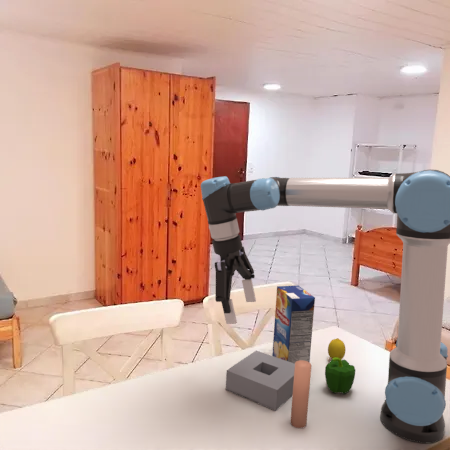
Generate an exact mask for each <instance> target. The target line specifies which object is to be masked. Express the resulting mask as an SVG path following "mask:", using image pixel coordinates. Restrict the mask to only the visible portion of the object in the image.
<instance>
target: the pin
mask: <svg viewBox="0 0 450 450" xmlns="http://www.w3.org/2000/svg"><path fill="white" fill-rule="evenodd" d="M311 376H312V363H311V362H308V361H304V360H299V361H296V362H295V370H294V383H293V395H292V396H291V398H292V399H291V407H290V408H291V409H290V420H289V421H290V425H291V426H292V427H294V428H296V429H304V428H305V427H307V421H308V411H309V398H310V388H311V387H310V386H311V378H312V377H311Z"/></svg>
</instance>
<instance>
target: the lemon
mask: <svg viewBox="0 0 450 450" xmlns="http://www.w3.org/2000/svg"><path fill="white" fill-rule="evenodd" d="M327 354H328V356H329V358H330V359H331V360H332V358H335V357H336V358H339V359H341V360H343V358H344V357H345V354H346V345H345V342H344V341H343V340H341V339H340V338H334V339H332V340H331V341H330V342H329V344H328V347H327Z"/></svg>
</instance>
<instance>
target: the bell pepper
mask: <svg viewBox="0 0 450 450" xmlns="http://www.w3.org/2000/svg"><path fill="white" fill-rule="evenodd" d="M324 375H325V376H324V377H325V381H326V382H325V383H326V386H327V388H328V390H329V391H330V392H331V393H336V394H338V393H340V394H344V395H346V394H348V393H349V392H350V391H351V389H352V387H353V384H354V381H355V377H356V368H355V366H354V365H353V364H350V363H349V362H348V361H347V360H346V359H339V358H336V357H335V358H332V359H331V360H329V362H328V363H327V364H326V366H325V369H324Z"/></svg>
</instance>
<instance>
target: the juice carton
mask: <svg viewBox="0 0 450 450" xmlns="http://www.w3.org/2000/svg"><path fill="white" fill-rule="evenodd" d="M275 297H276V300H275V310H274V312H275V313H274V314H275V315H274V325H273V326H274V328H273V340H272V354H271V356H274V357H277V358H280V359H283V360H286V361H288V362H291V363H294V364H295V362H296V361H299V360H304V361H308V362H309V363H311V362H310V360H311V348H312V347H311V346H312V335H313V325H314V316H315V315H314V314H315V313H314V312H315V303H316V302H315V301H316V297H315V296H314V295H312V294H311V293H310V292H308V291H307V290H306V289H304V288H303V287H302V286H300V285H298V284H297V285H282V286H281V285H279V286H276V296H275Z"/></svg>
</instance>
